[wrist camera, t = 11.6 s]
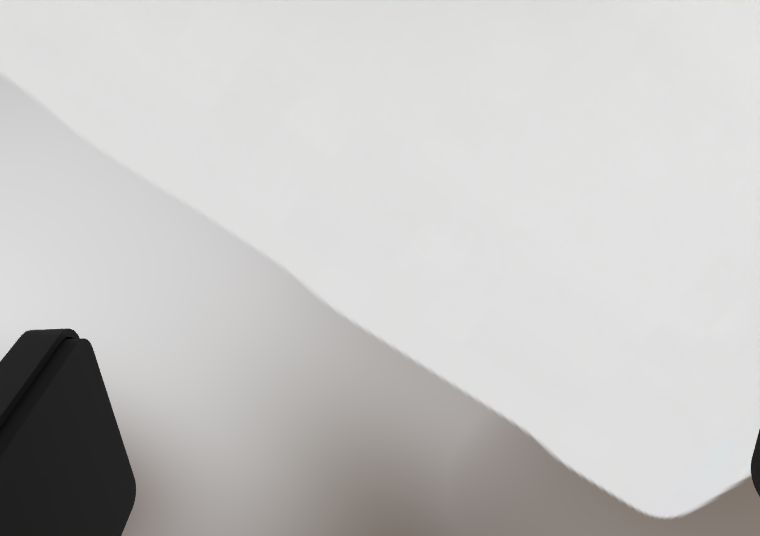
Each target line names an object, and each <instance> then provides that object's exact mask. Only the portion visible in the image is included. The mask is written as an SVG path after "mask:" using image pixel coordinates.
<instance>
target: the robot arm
mask: <svg viewBox="0 0 760 536" xmlns="http://www.w3.org/2000/svg"><path fill="white" fill-rule="evenodd" d="M751 475H752V480H753V483H754V486H755V488H756V491H757V492H758V494H759V496H760V430H759V434H758V438H757V442H756V445H755V449H754V453H753V457H752V461H751ZM135 495H136V483H135V478H134V475H133V472H132V469H131V466H130V463H129V460H128V456H127V454H126V450H125V447H124V444H123V441H122V438H121V435H120V431H119V428H118V425H117V422H116V419H115V416H114V413H113V410H112V407H111V404H110V400H109V398H108V394H107V391H106V388H105V385H104V382H103V379H102V376H101V373H100V369H99V366H98V363H97V360H96V357H95V354H94V351H93V348H92V346H91V343H90V342H89V341H88V340H87V339H80V338H79V336H78V334H77V333H76V332H75V331H74V330H72V329H46V330H30V331H26V332H25V333H24V334H23V335H22V336H21V337H20V338H19V339H18V340H17V342H16V343H15V344H14V345H13V347H12V348H11V349H10V350H9V352H8V353H7V354H6V356H5V357H4V358H3V359H2V360H1V362H0V536H121V534H122V532H123V530H124V527H125V525H126V522H127V520H128V518H129V515H130V513H131V510H132V508H133V505H134V501H135Z"/></svg>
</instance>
